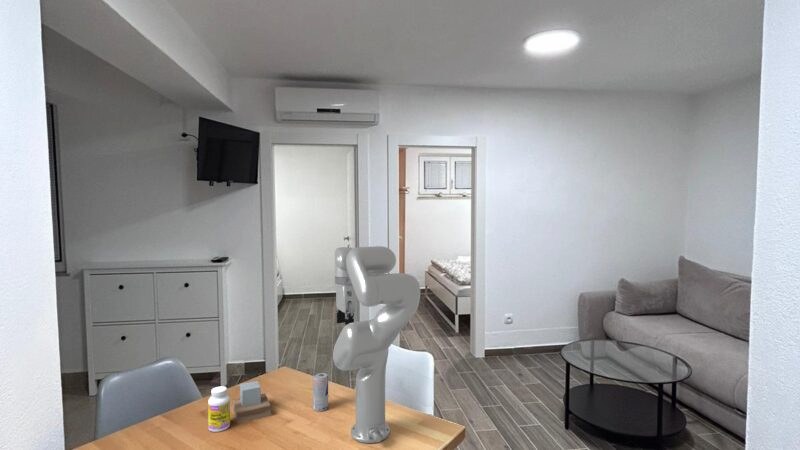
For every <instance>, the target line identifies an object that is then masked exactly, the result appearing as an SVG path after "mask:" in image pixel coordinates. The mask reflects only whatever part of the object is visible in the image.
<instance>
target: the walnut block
mask: <svg viewBox="0 0 800 450" xmlns="http://www.w3.org/2000/svg"><path fill="white" fill-rule="evenodd" d="M232 401H233V412H234V417H235V421H236V424H241V423H245V422H249V421H254V420H258V419H263V418H267V417H271V416H272V406H271V403H270V401H269V399H268V396H267V395H266V393H264V392H263V393H261V404H258V405H253V406H249V407H244V408H243V407H242V404H241V402H240V397H239V398H234V399H233V400H232Z"/></svg>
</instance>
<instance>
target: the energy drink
mask: <svg viewBox="0 0 800 450" xmlns="http://www.w3.org/2000/svg"><path fill="white" fill-rule="evenodd" d="M328 408H329V376H328V374H327V373H326V372H318V373H315V374H314V375H313V377H312V409H313V410H314V411H315V412H319V413H320V412H324V411H326V410H327V409H328Z"/></svg>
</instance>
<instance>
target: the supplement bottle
mask: <svg viewBox="0 0 800 450" xmlns="http://www.w3.org/2000/svg"><path fill="white" fill-rule="evenodd" d="M227 389H228V388H227V387H226V386H224V385H220V386H216V387H212V388H211V391H210V392H211V393H210V394H211V396H210V397H209V398H208V401H207V402H208V403H207V426H208V427H207V429H208V431H210V432H214V433H219V432H222V431H224V430H225V431H226V430H227V429H229V427H230V426H231V397H230V395H229V394H227V392H228V390H227Z"/></svg>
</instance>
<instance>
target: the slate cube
mask: <svg viewBox="0 0 800 450" xmlns="http://www.w3.org/2000/svg"><path fill="white" fill-rule="evenodd" d="M261 388H262V387H261V384H260V383H259V381H258V380H254V381H251V382H250V381H249V382H245V383H243V382H242V383H239V398H240V402H241V404H242V407H243V408H244V407H249V406H253V405H258V404H261V394H262V393H261Z"/></svg>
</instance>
